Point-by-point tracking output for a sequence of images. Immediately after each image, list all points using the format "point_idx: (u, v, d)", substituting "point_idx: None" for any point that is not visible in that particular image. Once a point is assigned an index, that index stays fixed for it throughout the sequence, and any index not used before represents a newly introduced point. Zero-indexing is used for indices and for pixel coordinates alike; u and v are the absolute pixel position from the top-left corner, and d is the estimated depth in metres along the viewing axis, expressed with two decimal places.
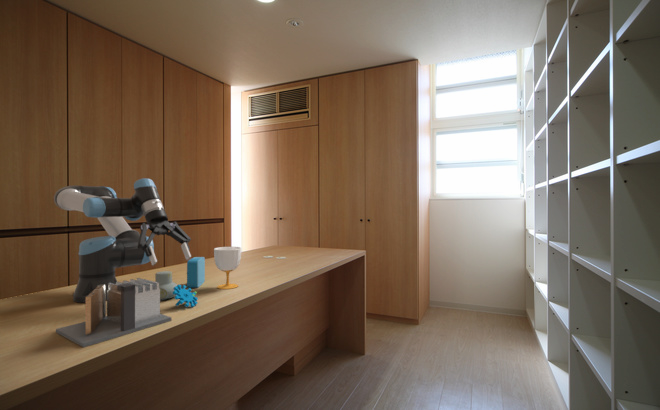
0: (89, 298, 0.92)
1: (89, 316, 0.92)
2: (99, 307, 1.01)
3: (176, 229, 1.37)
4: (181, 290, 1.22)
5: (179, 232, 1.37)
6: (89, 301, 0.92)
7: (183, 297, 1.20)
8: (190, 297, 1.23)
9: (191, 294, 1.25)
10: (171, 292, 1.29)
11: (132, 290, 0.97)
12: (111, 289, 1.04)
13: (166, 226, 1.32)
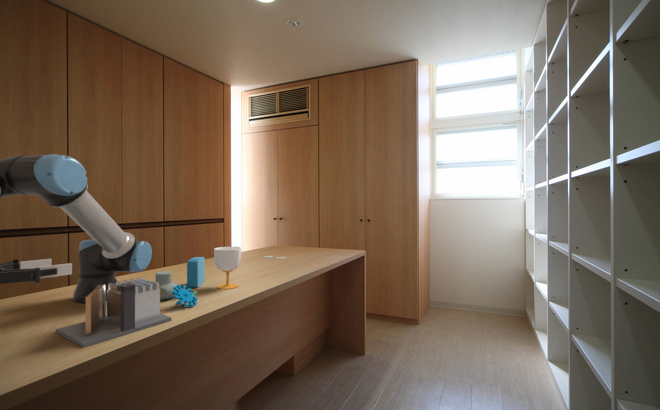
0: (89, 298, 0.92)
1: (89, 316, 0.92)
2: (99, 307, 1.01)
3: None
4: (181, 290, 1.22)
5: None
6: (89, 301, 0.92)
7: (182, 297, 1.20)
8: (190, 297, 1.23)
9: (191, 294, 1.25)
10: (171, 292, 1.29)
11: (132, 290, 0.97)
12: (111, 289, 1.04)
13: None
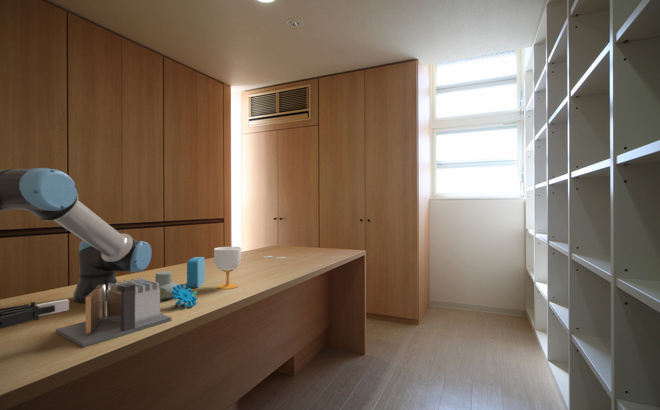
0: (89, 298, 0.92)
1: (89, 316, 0.92)
2: (99, 307, 1.01)
3: None
4: (180, 290, 1.22)
5: None
6: (89, 301, 0.92)
7: (182, 297, 1.20)
8: (189, 297, 1.23)
9: (190, 294, 1.25)
10: (171, 292, 1.29)
11: (132, 290, 0.97)
12: (111, 289, 1.04)
13: None
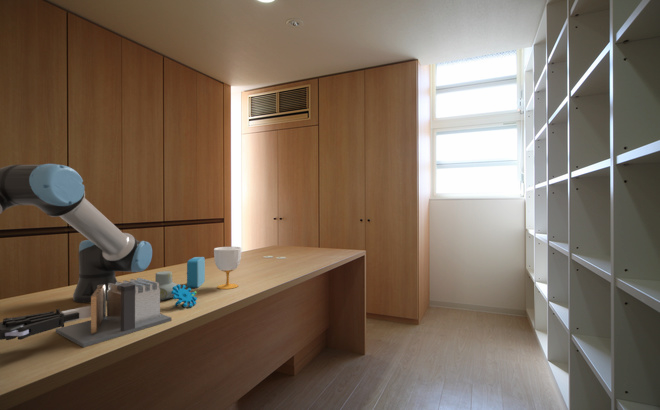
0: (95, 297, 0.93)
1: (95, 315, 0.93)
2: (101, 307, 1.01)
3: None
4: (180, 290, 1.22)
5: None
6: (95, 300, 0.93)
7: (181, 297, 1.20)
8: (189, 297, 1.23)
9: (190, 294, 1.25)
10: None
11: (132, 290, 0.97)
12: (111, 289, 1.04)
13: None
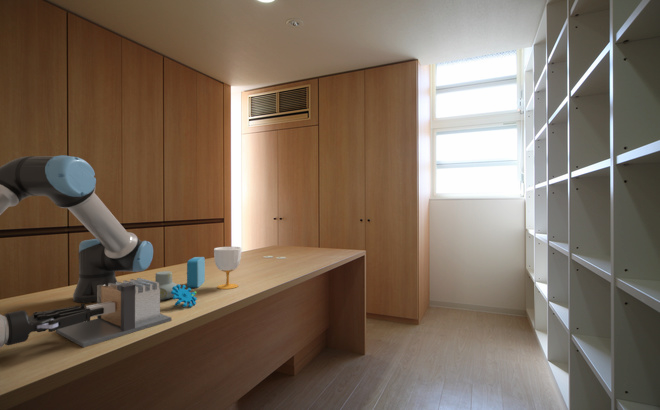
0: None
1: None
2: None
3: None
4: (180, 290, 1.22)
5: None
6: None
7: (181, 297, 1.20)
8: (189, 297, 1.23)
9: (190, 294, 1.25)
10: None
11: (132, 290, 0.97)
12: None
13: (43, 330, 0.86)
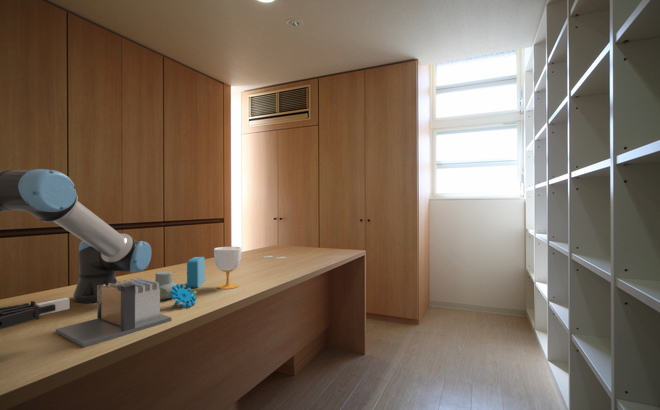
0: None
1: None
2: None
3: None
4: (179, 290, 1.23)
5: None
6: None
7: (180, 297, 1.20)
8: (188, 297, 1.23)
9: (190, 294, 1.25)
10: None
11: (132, 290, 0.97)
12: None
13: None
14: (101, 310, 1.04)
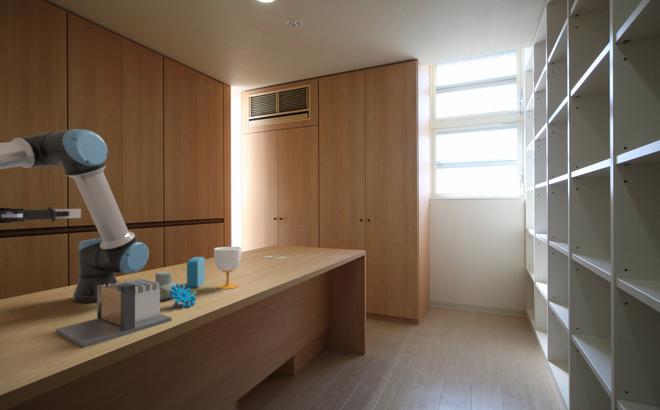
0: None
1: None
2: None
3: None
4: (179, 289, 1.23)
5: None
6: None
7: (180, 297, 1.20)
8: (188, 297, 1.23)
9: (189, 294, 1.25)
10: None
11: (132, 290, 0.97)
12: None
13: (8, 222, 0.89)
14: (101, 310, 1.04)
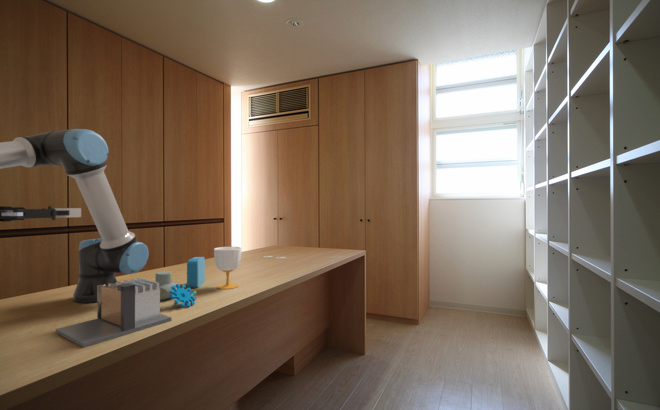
0: None
1: None
2: None
3: None
4: (179, 289, 1.23)
5: None
6: None
7: (179, 296, 1.20)
8: (187, 297, 1.23)
9: (189, 294, 1.25)
10: None
11: (132, 290, 0.97)
12: None
13: None
14: (101, 310, 1.04)
